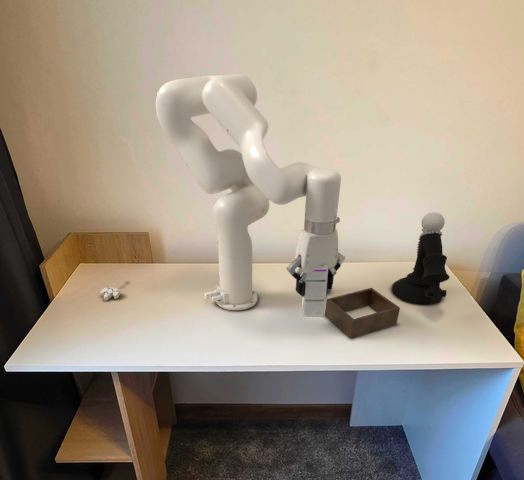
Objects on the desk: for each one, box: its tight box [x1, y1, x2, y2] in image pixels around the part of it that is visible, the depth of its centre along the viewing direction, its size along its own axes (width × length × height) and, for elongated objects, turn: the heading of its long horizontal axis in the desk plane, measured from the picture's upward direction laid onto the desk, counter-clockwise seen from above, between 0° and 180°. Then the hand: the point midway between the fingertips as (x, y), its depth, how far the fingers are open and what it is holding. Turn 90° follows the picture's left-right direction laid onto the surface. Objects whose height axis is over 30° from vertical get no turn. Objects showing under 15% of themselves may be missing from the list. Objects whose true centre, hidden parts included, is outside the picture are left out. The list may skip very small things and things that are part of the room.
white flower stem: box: [99, 281, 126, 302], centre depth 138 cm, size 6×12×3 cm, turn 179°
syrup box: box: [301, 265, 328, 318], centre depth 118 cm, size 6×6×14 cm
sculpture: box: [391, 211, 451, 306], centre depth 130 cm, size 15×24×25 cm, turn 0°
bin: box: [324, 287, 401, 339], centre depth 126 cm, size 16×13×6 cm
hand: (314, 290), depth 118 cm, fingers closed on syrup box, 7 cm apart
